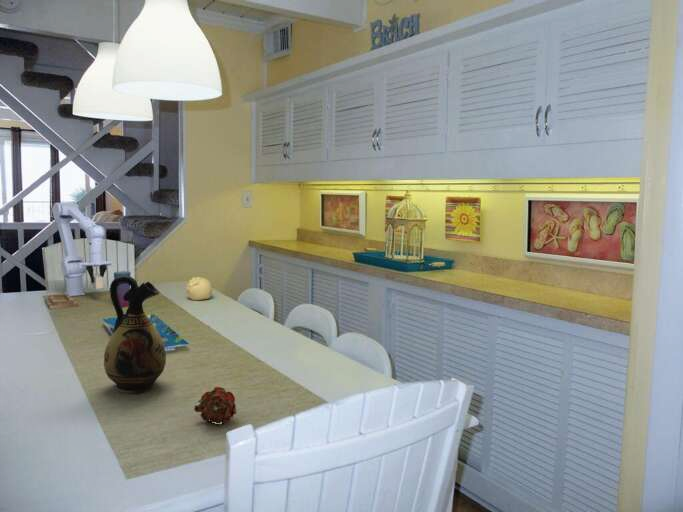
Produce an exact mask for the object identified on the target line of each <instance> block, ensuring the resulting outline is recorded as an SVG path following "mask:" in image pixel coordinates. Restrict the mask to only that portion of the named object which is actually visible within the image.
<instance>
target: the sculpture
mask: <svg viewBox="0 0 683 512" xmlns="http://www.w3.org/2000/svg"><path fill="white" fill-rule="evenodd" d="M185 291H186V292H185V293H186V294H187V297H188V298H189V299H191V301H201V300H209V299H210V298H211V297H212V293H213V285H212V283H211V281H210V280H209V279H207V278H205V277H202V276H196V277H192V278H191V279H189V280H188V283H186V286H185Z"/></svg>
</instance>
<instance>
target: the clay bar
mask: <svg viewBox="0 0 683 512" xmlns="http://www.w3.org/2000/svg"><path fill="white" fill-rule="evenodd" d="M93 278H94V283H92V282H91V281H90V285H91V286H92V287H93V288H94V289H95V290H99V289H104V276H103V277H102V276H100V273H93Z"/></svg>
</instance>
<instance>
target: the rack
mask: <svg viewBox="0 0 683 512" xmlns="http://www.w3.org/2000/svg"><path fill="white" fill-rule="evenodd" d="M44 302H45V303H46V304H47V307H48V309H49V310H52V309H63V308H73V307H74V308H75V307H79V303H78V301H76V299H75V298H74V296H70V295H69V294H64V293H62V294H53V295H52V294H51V295H48V298H44Z"/></svg>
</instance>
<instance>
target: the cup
mask: <svg viewBox="0 0 683 512" xmlns="http://www.w3.org/2000/svg"><path fill="white" fill-rule="evenodd" d="M122 275H126V276H130V277H131V271H129V270H128V271H127V270H126V271H125V270H121V271H114V272H113V280H114V279H115V278H117V277H119V276H122ZM130 288H131V286H130V285H129V284H127V283H125V284H120V285H119V286H118V287H117V293H118V297H119V300H120V304H121V307H122V308H128V307H129V301H125V300H124V298H123V297H124V295H125V294H126V292H127V291H129V290H130Z"/></svg>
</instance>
